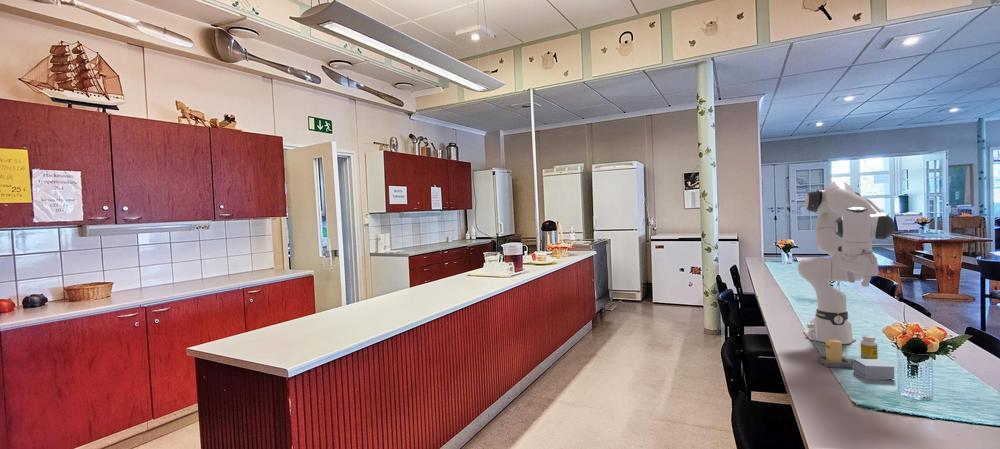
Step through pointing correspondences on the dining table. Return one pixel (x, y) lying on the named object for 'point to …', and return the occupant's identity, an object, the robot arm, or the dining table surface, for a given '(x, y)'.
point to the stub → (833, 350)
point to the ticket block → (873, 369)
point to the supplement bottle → (868, 347)
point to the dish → (834, 363)
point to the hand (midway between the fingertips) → (858, 284)
